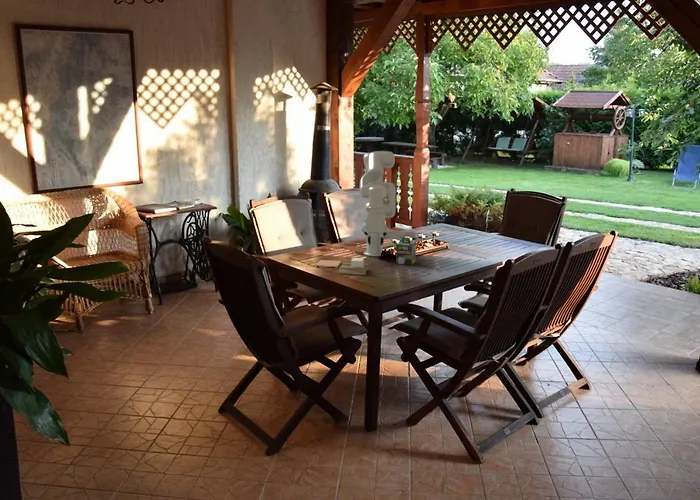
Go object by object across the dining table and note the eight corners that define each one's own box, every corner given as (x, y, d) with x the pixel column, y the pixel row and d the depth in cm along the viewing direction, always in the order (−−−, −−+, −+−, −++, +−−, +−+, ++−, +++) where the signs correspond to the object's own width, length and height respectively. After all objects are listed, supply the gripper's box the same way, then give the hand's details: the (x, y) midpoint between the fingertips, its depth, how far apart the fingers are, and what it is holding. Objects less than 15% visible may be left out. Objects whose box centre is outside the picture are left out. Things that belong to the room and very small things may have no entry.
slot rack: (342, 268, 353) (342, 262, 352) (367, 270, 351) (368, 263, 350) (339, 273, 344) (339, 267, 343) (365, 274, 342) (365, 268, 341)
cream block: (352, 270, 350) (352, 257, 349) (363, 270, 349) (363, 258, 348) (351, 273, 344) (351, 260, 343) (362, 273, 344) (362, 260, 342)
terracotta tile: (320, 261, 368) (320, 259, 368) (341, 262, 367) (341, 260, 366) (315, 267, 357) (315, 265, 357) (337, 267, 355) (337, 266, 355)
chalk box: (415, 261, 369) (416, 236, 366) (411, 265, 361) (412, 239, 357) (400, 260, 372) (400, 234, 369) (395, 264, 364) (396, 238, 360)
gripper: (358, 211, 336) (358, 245, 340) (391, 212, 333) (391, 246, 337) (360, 208, 343) (360, 242, 347) (393, 209, 340) (392, 243, 344)
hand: (375, 244), depth 342 cm, fingers open, 5 cm apart
